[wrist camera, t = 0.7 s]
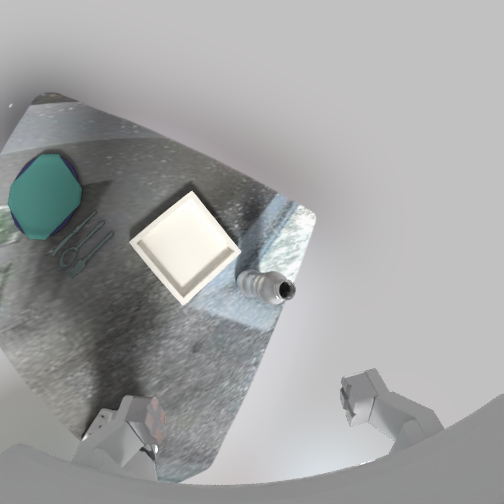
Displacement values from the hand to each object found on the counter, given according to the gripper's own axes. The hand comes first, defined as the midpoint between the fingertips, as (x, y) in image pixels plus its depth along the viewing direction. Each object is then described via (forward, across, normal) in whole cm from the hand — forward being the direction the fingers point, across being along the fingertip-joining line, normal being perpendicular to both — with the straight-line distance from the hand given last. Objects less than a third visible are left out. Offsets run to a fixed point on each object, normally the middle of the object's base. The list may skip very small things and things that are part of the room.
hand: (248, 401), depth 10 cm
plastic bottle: (+53, -2, -19) cm, 56 cm away
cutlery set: (+44, -43, +8) cm, 62 cm away
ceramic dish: (+51, -14, -7) cm, 53 cm away
